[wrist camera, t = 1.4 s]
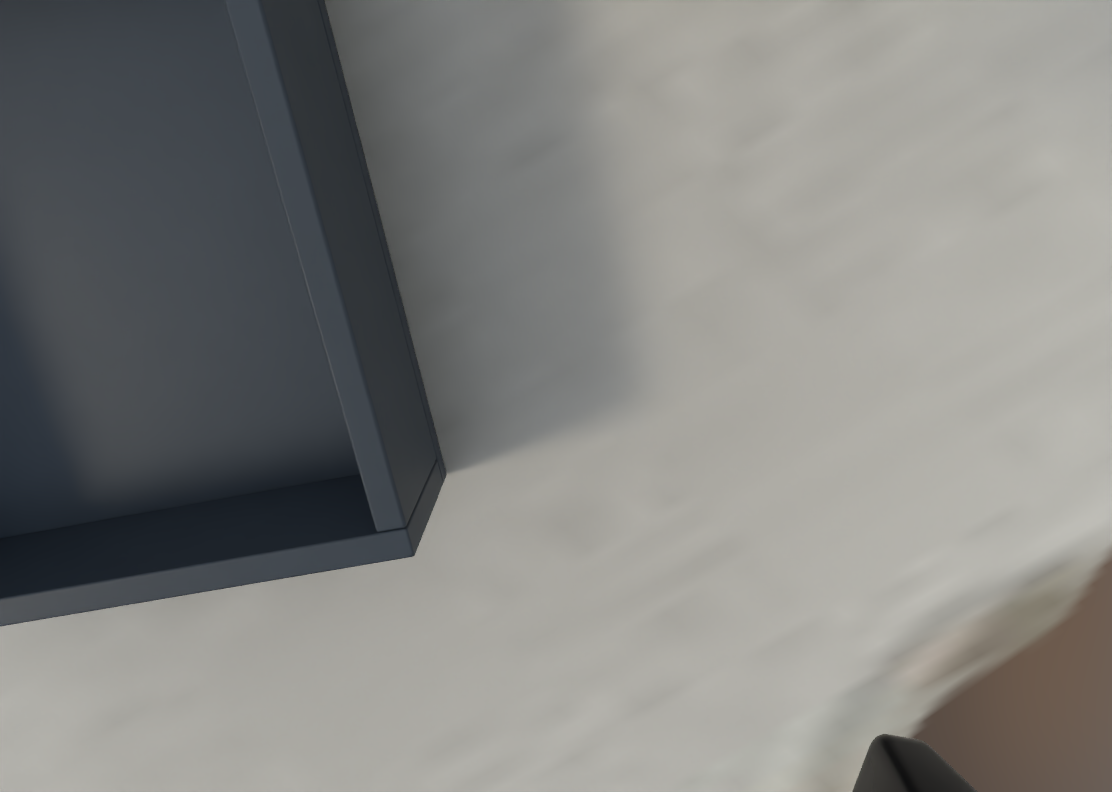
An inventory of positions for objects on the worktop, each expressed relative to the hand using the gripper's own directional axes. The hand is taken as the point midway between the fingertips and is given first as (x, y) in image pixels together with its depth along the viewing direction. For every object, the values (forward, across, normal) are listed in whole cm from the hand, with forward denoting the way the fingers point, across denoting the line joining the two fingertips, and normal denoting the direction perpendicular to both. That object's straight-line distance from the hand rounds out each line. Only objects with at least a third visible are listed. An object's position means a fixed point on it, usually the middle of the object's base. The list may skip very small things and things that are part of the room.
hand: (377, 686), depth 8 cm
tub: (+13, +9, +1) cm, 15 cm away
